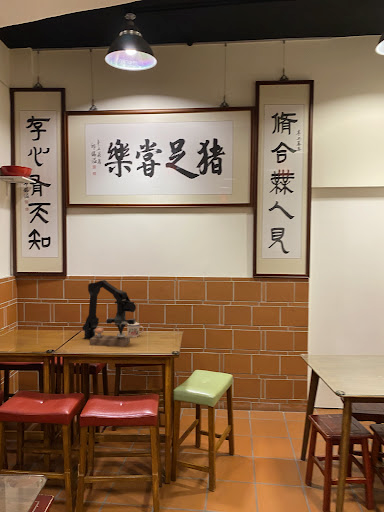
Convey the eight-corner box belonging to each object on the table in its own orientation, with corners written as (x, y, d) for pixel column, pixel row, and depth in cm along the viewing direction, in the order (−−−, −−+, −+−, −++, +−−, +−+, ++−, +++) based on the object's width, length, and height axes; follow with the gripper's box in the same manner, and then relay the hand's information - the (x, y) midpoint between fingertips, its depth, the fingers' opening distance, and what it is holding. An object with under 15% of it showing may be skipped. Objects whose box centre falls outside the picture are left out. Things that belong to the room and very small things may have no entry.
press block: (89, 345, 261) (89, 339, 261) (96, 340, 273) (96, 334, 273) (124, 346, 258) (125, 340, 258) (129, 342, 270) (129, 336, 270)
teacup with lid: (126, 337, 283) (127, 321, 282) (127, 334, 292) (127, 319, 291) (143, 337, 285) (143, 321, 284) (143, 334, 294) (143, 319, 293)
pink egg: (94, 338, 264) (94, 329, 264) (96, 336, 269) (97, 327, 269) (101, 339, 263) (101, 329, 263) (104, 337, 269) (104, 327, 268)
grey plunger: (115, 344, 262) (116, 334, 262) (118, 342, 268) (118, 332, 267) (123, 344, 262) (123, 334, 262) (125, 342, 267) (125, 333, 267)
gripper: (103, 312, 257) (103, 336, 258) (131, 313, 255) (131, 337, 255) (109, 309, 268) (108, 332, 269) (136, 310, 266) (135, 333, 267)
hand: (120, 333), depth 265 cm, fingers closed, pressing on grey plunger
